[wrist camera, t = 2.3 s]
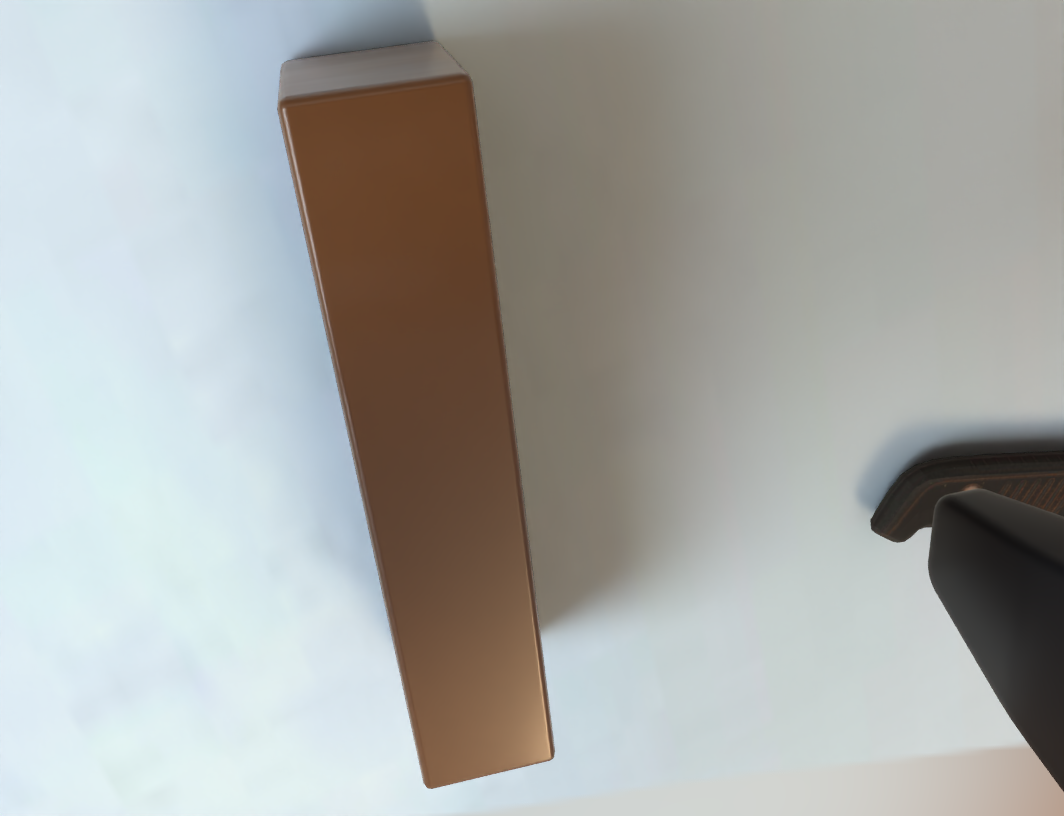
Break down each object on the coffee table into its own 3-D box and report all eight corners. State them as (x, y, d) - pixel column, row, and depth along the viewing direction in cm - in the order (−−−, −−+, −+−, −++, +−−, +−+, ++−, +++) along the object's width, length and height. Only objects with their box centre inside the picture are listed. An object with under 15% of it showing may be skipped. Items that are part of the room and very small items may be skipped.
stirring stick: (278, 60, 11) (274, 99, 9) (439, 38, 11) (472, 72, 9) (407, 670, 15) (425, 793, 13) (521, 645, 15) (557, 761, 13)
